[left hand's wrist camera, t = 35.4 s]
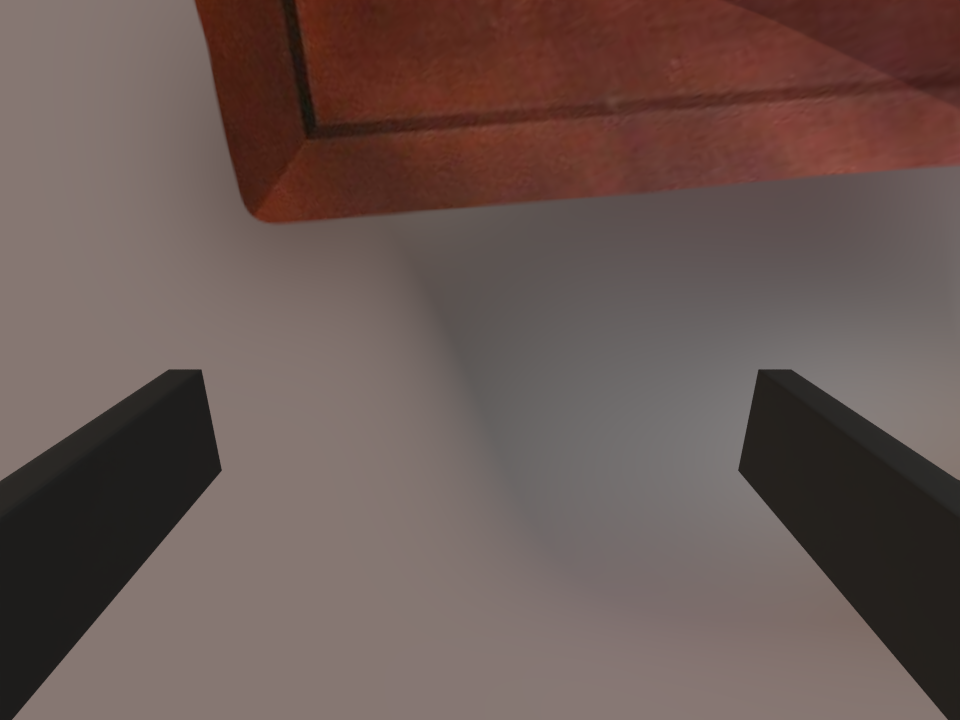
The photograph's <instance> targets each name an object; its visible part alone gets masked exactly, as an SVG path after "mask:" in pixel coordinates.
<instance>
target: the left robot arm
mask: <svg viewBox="0 0 960 720" xmlns="http://www.w3.org/2000/svg"><path fill="white" fill-rule="evenodd" d="M221 471H222V469H221V465H220V459H219V455H218V449H217V445H216V440H215V435H214V430H213V425H212V420H211V415H210V410H209V405H208V400H207V395H206V390H205V385H204V380H203V375H202V370H168V371H166V372H164V373H163V374H161V375H160V376H158V377H157V378H155V379H154V380H152V381H151V382H149V383H148V384H146V385H145V386H143V387H142V388H140V389H139V390H137V391H136V392H134V393H133V394H131V395H130V396H128V397H127V398H125V399H124V400H122V401H121V402H119V403H118V404H116V405H115V406H113V407H112V408H110V409H109V410H107V411H106V412H104V413H103V414H101V415H100V416H98V417H97V418H95V419H94V420H92V421H91V422H89V423H87V424H86V425H84V426H83V427H81V428H80V429H78V430H77V431H75V432H74V433H72V434H71V435H69V436H68V437H66V438H65V439H63V440H62V441H60V442H59V443H57V444H56V445H54V446H53V447H51V448H50V449H48V450H47V451H45V452H44V453H42V454H41V455H39V456H38V457H36V458H35V459H33V460H32V461H30V462H29V463H27V464H26V465H24V466H23V467H21V468H20V469H18V470H17V471H15V472H13V473H12V474H10V475H9V476H8V477H6V478H4V479H3V480H1V481H0V720H12V719H13V718H14V717H15V716H16V714H17V713H18V712H19V711H20V710H21V708H22V707H23V706H24V705H25V704H26V702H27V701H28V700H29V699H30V698H31V696H32V695H33V694H34V693H35V692H36V691H37V689H38V688H39V687H40V686H41V685H42V683H43V682H44V681H45V680H46V679H47V677H48V676H49V675H50V674H51V673H52V672H53V670H54V669H55V668H56V667H57V666H58V664H59V663H60V662H61V661H62V660H63V658H64V657H65V656H66V655H67V654H68V653H69V651H70V650H71V649H72V648H73V647H74V645H75V644H76V643H77V642H78V641H79V639H80V638H81V637H82V636H83V635H84V633H85V632H86V631H87V630H88V629H89V628H90V626H91V625H92V624H93V623H94V622H95V620H96V619H97V618H98V617H99V616H100V614H101V613H102V612H103V611H104V610H105V609H106V607H107V606H108V605H109V604H110V603H111V601H112V600H113V599H114V598H115V597H116V595H117V594H118V593H119V592H120V591H121V590H122V588H123V587H124V586H125V585H126V584H127V582H128V581H129V580H130V579H131V578H132V576H133V575H134V574H135V573H136V572H137V571H138V569H139V568H140V567H141V566H142V565H143V563H144V562H145V561H146V560H147V559H148V557H149V556H150V555H151V554H152V553H153V552H154V550H155V549H156V548H157V547H158V546H159V544H160V543H161V542H162V541H163V540H164V538H165V537H166V536H167V535H168V534H169V532H170V531H171V530H172V529H173V528H174V527H175V525H176V524H177V523H178V522H179V521H180V519H181V518H182V517H183V516H184V515H185V513H186V512H187V511H188V510H189V509H190V508H191V506H192V505H193V504H194V503H195V502H196V500H197V499H198V498H199V497H200V496H201V494H202V493H203V492H204V491H205V490H206V489H207V487H208V486H209V485H210V484H211V483H212V481H213V480H214V479H215V478H216V477H217V475H218V474H219V473H220V472H221ZM738 471H739V472H740V473H741V474H742V475H743V477H744V478H745V479H746V480H747V481H748V483H749V484H750V485H751V486H752V487H753V489H754V490H755V491H756V492H757V493H758V494H759V496H760V497H761V498H762V499H763V500H764V502H765V503H766V504H767V505H768V506H769V508H770V509H771V510H772V511H773V512H774V513H775V515H776V516H777V517H778V518H779V519H780V521H781V522H782V523H783V524H784V525H785V527H786V528H787V529H788V530H789V531H790V532H791V534H792V535H793V536H794V537H795V538H796V540H797V541H798V542H799V543H800V544H801V546H802V547H803V548H804V549H805V550H806V551H807V553H808V554H809V555H810V556H811V557H812V559H813V560H814V561H815V562H816V563H817V565H818V566H819V567H820V568H821V569H822V571H823V572H824V573H825V574H826V575H827V576H828V578H829V579H830V580H831V581H832V582H833V584H834V585H835V586H836V587H837V588H838V589H839V591H840V592H841V593H842V594H843V595H844V597H845V598H846V599H847V600H848V601H849V603H850V604H851V605H852V606H853V607H854V609H855V610H856V611H857V612H858V613H859V615H860V616H861V617H862V618H863V619H864V620H865V622H866V623H867V624H868V625H869V626H870V628H871V629H872V630H873V631H874V632H875V634H876V635H877V636H878V637H879V638H880V639H881V641H882V642H883V643H884V644H885V645H886V647H887V648H888V649H889V650H890V651H891V653H892V654H893V655H894V656H895V657H896V658H897V660H898V661H899V662H900V663H901V664H902V666H903V667H904V668H905V669H906V670H907V672H908V673H909V674H910V675H911V676H912V677H913V679H914V680H915V681H916V682H917V683H918V685H919V686H920V687H921V688H922V689H923V691H924V692H925V693H926V694H927V695H928V696H929V698H930V699H931V700H932V701H933V702H934V704H935V705H936V706H937V707H938V708H939V709H940V711H941V712H942V713H943V714H944V716H945V717H946V718H947V719H948V720H960V480H957V479H956V478H954V477H952V476H951V475H950V474H948V473H946V472H945V471H943V470H942V469H940V468H939V467H937V466H936V465H934V464H933V463H931V462H930V461H928V460H927V459H925V458H924V457H922V456H921V455H919V454H918V453H916V452H915V451H913V450H912V449H910V448H909V447H907V446H906V445H904V444H903V443H901V442H900V441H898V440H897V439H895V438H894V437H892V436H891V435H889V434H888V433H886V432H885V431H883V430H882V429H880V428H879V427H877V426H876V425H874V424H873V423H871V422H869V421H868V420H866V419H865V418H863V417H862V416H860V415H859V414H857V413H856V412H854V411H853V410H851V409H850V408H848V407H847V406H845V405H844V404H842V403H841V402H839V401H838V400H836V399H835V398H833V397H832V396H830V395H829V394H827V393H826V392H824V391H823V390H821V389H820V388H818V387H817V386H815V385H814V384H812V383H811V382H809V381H808V380H806V379H805V378H803V377H802V376H800V375H799V374H797V373H795V372H794V371H792V370H758V375H757V380H756V385H755V390H754V395H753V400H752V405H751V410H750V415H749V420H748V425H747V430H746V435H745V440H744V444H743V449H742V454H741V460H740V464H739V469H738Z"/></svg>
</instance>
